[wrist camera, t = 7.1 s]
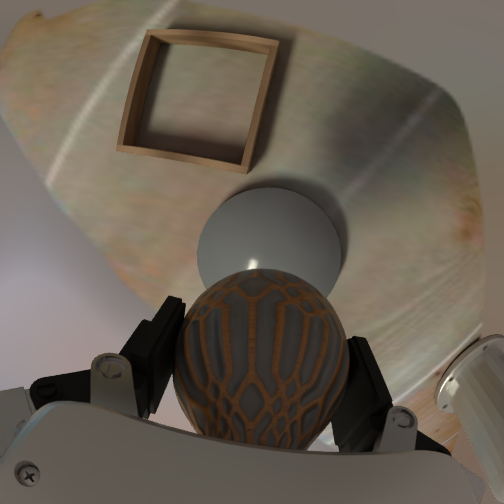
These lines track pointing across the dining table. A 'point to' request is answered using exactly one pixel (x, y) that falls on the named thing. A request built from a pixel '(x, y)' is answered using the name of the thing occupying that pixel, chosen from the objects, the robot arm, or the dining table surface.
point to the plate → (270, 238)
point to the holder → (143, 77)
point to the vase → (261, 360)
